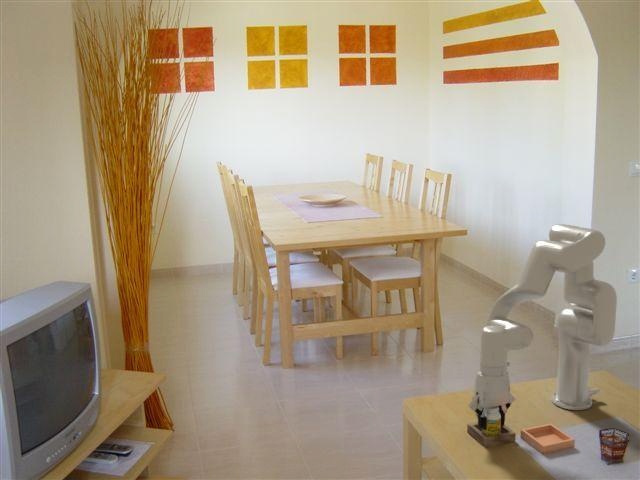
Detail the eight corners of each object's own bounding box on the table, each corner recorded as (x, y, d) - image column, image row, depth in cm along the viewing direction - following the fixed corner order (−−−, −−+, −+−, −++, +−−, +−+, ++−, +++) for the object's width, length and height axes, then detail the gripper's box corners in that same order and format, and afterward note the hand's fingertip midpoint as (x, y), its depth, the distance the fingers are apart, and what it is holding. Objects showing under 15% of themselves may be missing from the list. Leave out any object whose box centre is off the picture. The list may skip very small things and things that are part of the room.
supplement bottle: (495, 431, 209) (496, 401, 207) (503, 439, 204) (504, 409, 202) (478, 433, 208) (479, 403, 206) (486, 441, 203) (487, 411, 201)
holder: (495, 425, 212) (496, 418, 211) (515, 441, 203) (515, 433, 202) (467, 431, 209) (467, 424, 208) (485, 447, 200) (485, 439, 199)
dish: (550, 431, 208) (550, 423, 208) (574, 447, 198) (574, 439, 198) (520, 437, 205) (520, 429, 204) (543, 454, 195) (543, 446, 194)
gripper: (511, 359, 207) (508, 415, 211) (460, 368, 202) (459, 425, 206) (526, 368, 201) (523, 426, 204) (474, 377, 195) (472, 437, 199)
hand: (491, 425), depth 205 cm, fingers closed on supplement bottle, 5 cm apart
